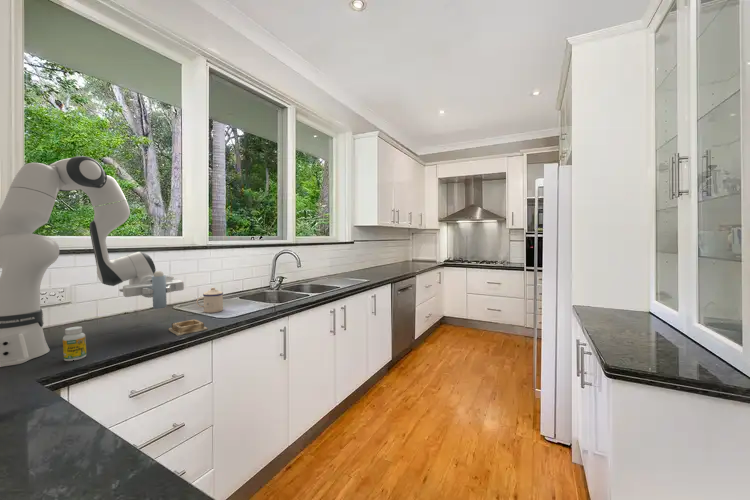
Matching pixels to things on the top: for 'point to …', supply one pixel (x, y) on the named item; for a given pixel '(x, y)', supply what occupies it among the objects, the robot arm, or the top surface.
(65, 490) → the top surface
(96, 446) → the top surface
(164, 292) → the blue bottle
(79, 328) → the supplement bottle
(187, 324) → the cradle jig
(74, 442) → the top surface
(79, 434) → the top surface
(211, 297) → the teacup with lid
